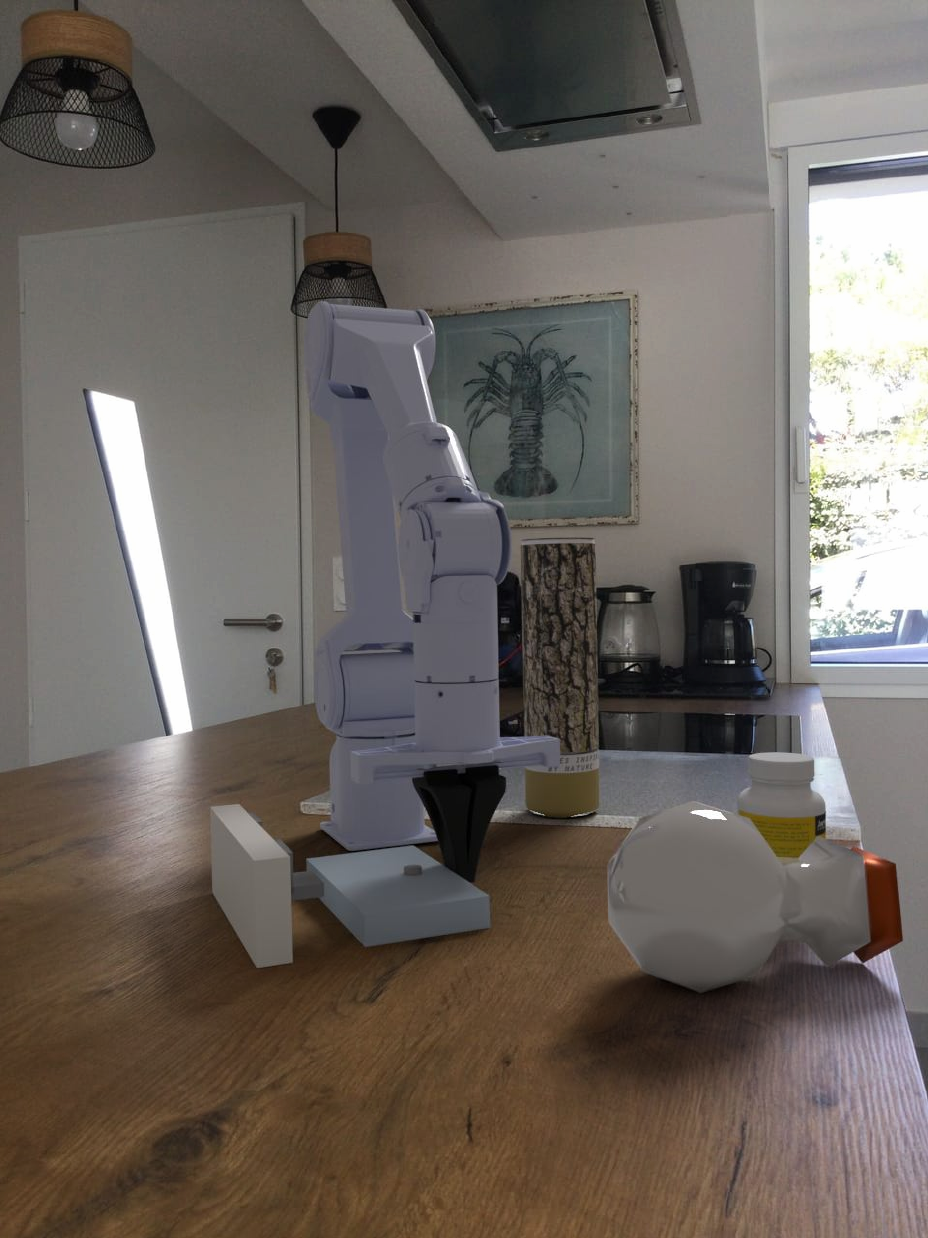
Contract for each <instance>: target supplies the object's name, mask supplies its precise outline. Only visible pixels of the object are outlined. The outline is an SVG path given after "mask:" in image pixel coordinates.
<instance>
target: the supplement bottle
mask: <svg viewBox="0 0 928 1238" xmlns="http://www.w3.org/2000/svg"><path fill="white" fill-rule="evenodd" d="M747 764H748V766H747V767H748V778H749V780H751V786H750V787H747V788H744V789H743V790H742V791H741V792H740V793H739V794H738V797H737V801H736V802H737V805H736V806H737V807H736V810H737V811H736V812H737V813H736V814H738V815H741V816H744V817H747V818H750V820H751V821H752V822H753V824H754V825H755V827H756V828H757V829H758V831H759V832H760V834H761V835H762V836H763V838H764V839H765V841H766V842H767V843H768V845H769V846H770V848H771V849H772V851H773V852H774V853H775V855H776V856H777V857H791V858H799V857H800V856H801V855H802V853H803V852H804V851H805V850H806V849H807V848H808V847H809V845H810V844H811V843H812V842H813V841H814V840H815V839H816V837H817V836H820V837H822V838H825V839H827V838H826V837H827V832H826V831H827V828H826V827H827V825H826V823H827V820H826V819H827V811H826V809H827V808H826V807H827V806H826V801H825V799H824V797H823V796H822V795H821V794H820V793H819V792H817V791H816V790H814V789H812V787H811V783H813V782H814V781H815V778H814V777H815V759H814V757H812V756H810V755H807V754H803V753H794V752H779V751H777V752H776V751H773V752H758V753H753V754H750V755H749V756H748V763H747Z"/></svg>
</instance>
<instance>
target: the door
mask: <svg viewBox="0 0 928 1238" xmlns="http://www.w3.org/2000/svg"><path fill="white" fill-rule="evenodd" d="M305 860H306V862H305V863H306V871H312V872H313V873H314V874H315V875H316V876H317V877H318V878H319V879H320V880H321V881H322V882H323V883H324V897H317V898H318V899H319V900H320V901H321V902H322V903H323V905H324V906H326V908H327V909H328V910H329V911H330V912H331V913H333V915H334V916H335V917H336V918H337V919H338V920H339V921H340V922H341V923H342V924H343V925H344V927H346V929H348V931H349V932H350V933H351V934H352V935H353V936H354V937H355V938H356V939H357V940H358V942H360V943H361V944H362V946H364V947H365V948H367V947H374V946H380V945H386V944H387V945H388V944H394V943H400V942H406V941H412V940H418V939H419V940H420V939H426V938H433V937H438V936H444V935H445V936H446V935H451V934H457V933H465V932H472V931H478V930H484V929H485V930H486V929H490V928H491V907H490V906H491V902H490V898H491V897H490V895H489V894H487V892H485V891H483V890H481V889H480V888H478V887H477V886H475V885H474V884H472V883H469V882H468V881H466V880H465V879H463V878H462V877H460V876H459V875H457V874H456V873H454V872H453V871H451V870H450V869H448V868H447V867H445V866H444V864H442V863H441V862H439V861H437V860H436V859H434V858H433V857H432V856H430V855H428V854H427V853H426V852H424V851H422V850H421V849H419V848H418V847H416V846H415V845H413V844H411V845H403V846H399V847H398V846H395V847H390V848H389V847H388V848H381V849H374V850H366V851H364V850H363V851H357V852H349V853H348V852H347V853H342V854H340V853H339V854H334V855H325V856H319V857H310V858H306V859H305Z"/></svg>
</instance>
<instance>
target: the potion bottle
mask: <svg viewBox="0 0 928 1238" xmlns="http://www.w3.org/2000/svg"><path fill="white" fill-rule="evenodd" d="M606 868H607V921H608V925H609V926H610V927H611V929H612V930H613V931H614V933H615V934H616V936H617V937H618V938H619V940H620V942H621V943H622V944H623V945H624V947H625V948H626V950H627V951H628V952H629V954H630V955H631V957H632V959H634V961H635V962H636V964H637V965H638V967H639V968H640V970H641V971H642V973H645V974H648V975H651V976H653V977H656V978H659V979H662V980H664V981H667V982H670V983H672V984H675V985H677V986H681V987H684V988H685V989H688V990H692V991H694V992H697V993H700V994H702V993H705V992H706V993H707V992H709V991H711V990H715V989H718V988H722V987H724V986H728V985H731V984H735V983H738V982H742V981H744V980H748V979H752V978H755V977H757V976H759V974H760V973H761V971H762V970H763V967H764V966H765V964H766V963H767V960H768V959H769V958H770V955H771V954H772V952H773V951H774V949H775V947H776V945H778V942H779V941H784V942H785V941H787V942H789V941H790V942H804V943H805V944H806V945H807V946H808V947H809V948H810V950H812V952H813V953H814V954H815V955H816V957H818V958H819V960H820V961H821V962H822V963H823V964H824V965H825V966H826V968H828V967H830V966H832V965H833V964H835V963H837V962H838V961H841V960H842V959H844V958H845V957H847V956H849V955H851V954H852V953H853V954H854V955H855V956H856V958H857V959H858V960H859V961H860V962H861V963H862V964H865V963H866V962H868V961H870V960H871V959H874V958H875V957H877V956H879V955H881V954H882V953H884V952H886V951H888V950H889V949H891V948H893V947H895V946H897V945H898V944H901V943H902V942H903V941H904V937H903V926H902V915H901V905H900V895H899V884H898V883H899V882H898V873H897V871H898V870H897V863H895V862H892V861H891V860H888V859H885V858H883V857H881V856H879V855H876V854H873V853H871V852H869V851H867V850H864V849H862V848H859V847H857V846H854V845H852V847H851V848H848V847H845V846H843V845H842V844H841V845H840V844H838V843H836V842H834V841H831V840H829V839H827V838H826V839H825V838H822V837H820V836H817V837H816V839H815V840H814V841H813V842H812V843H811V844H810V845H809V847H808V848H807V849H806V850H805V851H804V852H803V853H802V855H801V856H800V857H799V858H791V857H777V856H776V855H775V853H774V852H773V851H772V849H771V848H770V846H769V845H768V843H767V842H766V841H765V839H764V838H763V836H762V835H761V834H760V832H759V831H758V829H757V828H756V827H755V825H754V824H753V822H752V821H751V820H750V818H747V817H744V816H741V815H738V814H737V813H734V812H732V811H728V810H724V809H721V808H718V807H715V806H712V805H711V806H710V805H709V804H705V803H702V802H699V801H695V800H691V801H688V802H686V803H682V804H679V805H676V806H675V805H674V806H673V807H670V808H666V809H663V810H660V811H658V812H657V811H656V812H655V813H652V814H649V815H645V816H642V817H639V819H638V820H637V821H636V823H635V824H634V825H633V827H632V828H631V830H630V831H629V833H628V834H627V835H626V837H625V838H624V840H623V841H622V843H621V844H620V845H619V847H618V848H617V850H616V851H615V852H614V854H613V856H612V857H611V858H610V860H609V861H608V862H607V867H606Z"/></svg>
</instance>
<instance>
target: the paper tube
mask: <svg viewBox="0 0 928 1238" xmlns="http://www.w3.org/2000/svg"><path fill="white" fill-rule="evenodd" d="M521 541H522V542H521V544H520V577H521V578H520V585H521V589H520V590H521V591H520V592H521V636H522V637H521V638H522V641H521V642H522V688H523V690H522V693H523V737H531V736H550V737H554V738H558V739H560V766H556V767H544V766H534V767H524V786H525V788H524V789H525V806H526V809H527V808H528V809H529V810H532V811H535V812H538V813H541V814H544V815H545V816H548V817H547V818H553V817H554V819H568V818H567V817H571V816H574V815H578V814H583V813H587V812H591V811H594V810H596V809H597V810H598V809H599V807H600V749H599V748H600V745H599V744H600V743H599V741H600V739H599V737H600V736H599V735H600V734H599V729H600V728H599V687H598V686H599V681H598V679H599V678H598V677H599V676H598V668H599V667H598V617H597V616H598V615H597V614H598V612H597V606H598V605H597V561H596V560H597V552H596V550H597V548H596V545H597V544H596V542H595V537H544V538H543V537H542V538H541V537H540V538H527V539H526V538H525V539H521ZM528 809H527V810H528ZM529 810H528V811H529Z"/></svg>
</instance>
